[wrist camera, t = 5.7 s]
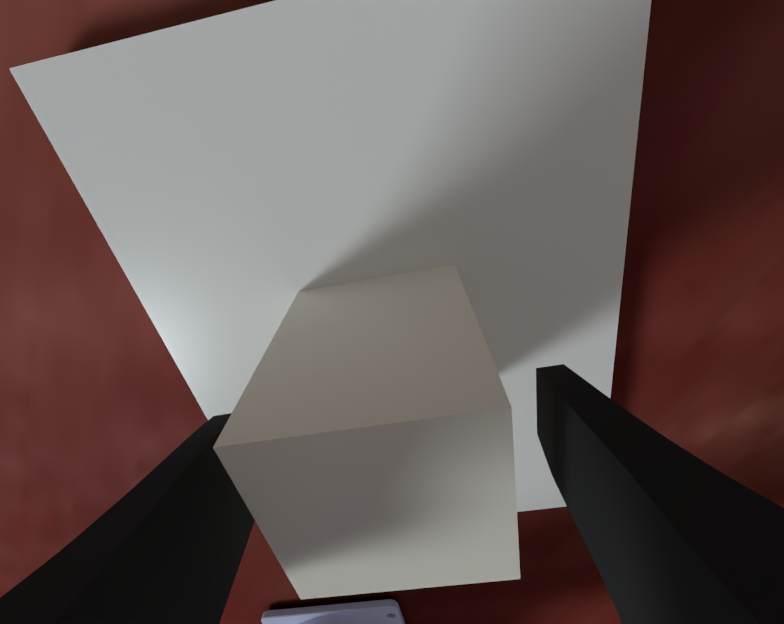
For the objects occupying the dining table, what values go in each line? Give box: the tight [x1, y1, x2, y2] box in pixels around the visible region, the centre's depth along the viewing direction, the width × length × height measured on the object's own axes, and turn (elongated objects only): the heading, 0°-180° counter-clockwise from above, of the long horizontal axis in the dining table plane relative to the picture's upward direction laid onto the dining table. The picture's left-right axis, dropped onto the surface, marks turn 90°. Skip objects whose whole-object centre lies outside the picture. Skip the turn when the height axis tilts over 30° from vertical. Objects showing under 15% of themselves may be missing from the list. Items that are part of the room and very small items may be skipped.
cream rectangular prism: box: [213, 264, 520, 600], centre depth 9 cm, size 5×5×6 cm
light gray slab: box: [9, 0, 651, 512], centre depth 10 cm, size 18×14×6 cm
